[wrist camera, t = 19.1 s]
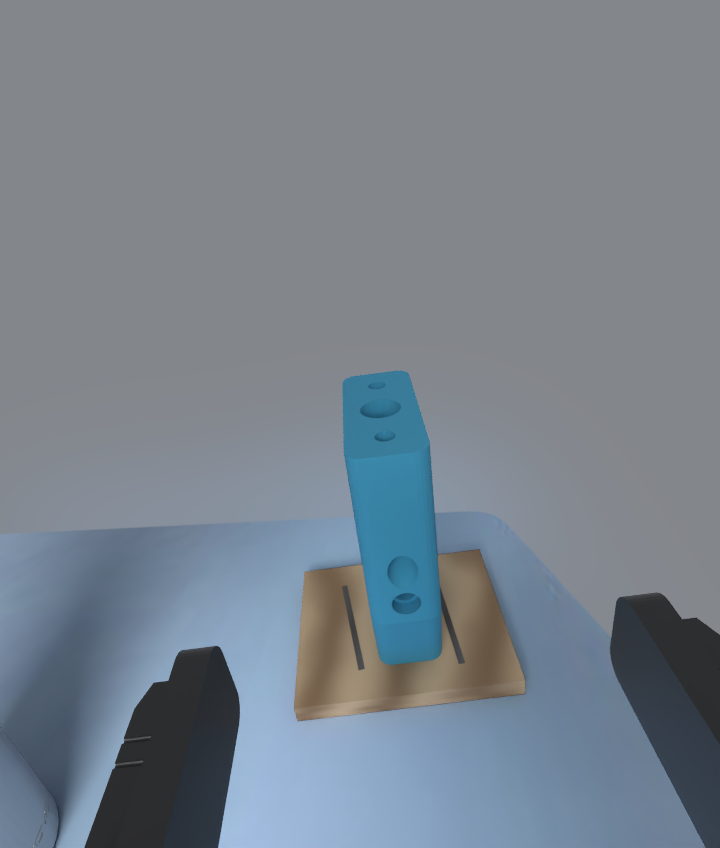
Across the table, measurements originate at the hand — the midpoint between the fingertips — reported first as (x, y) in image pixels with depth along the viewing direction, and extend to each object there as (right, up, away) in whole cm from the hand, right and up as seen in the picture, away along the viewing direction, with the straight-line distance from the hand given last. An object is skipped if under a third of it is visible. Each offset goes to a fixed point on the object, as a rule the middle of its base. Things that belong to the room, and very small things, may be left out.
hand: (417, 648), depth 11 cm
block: (+3, -12, +34) cm, 36 cm away
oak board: (+2, -13, +34) cm, 37 cm away
